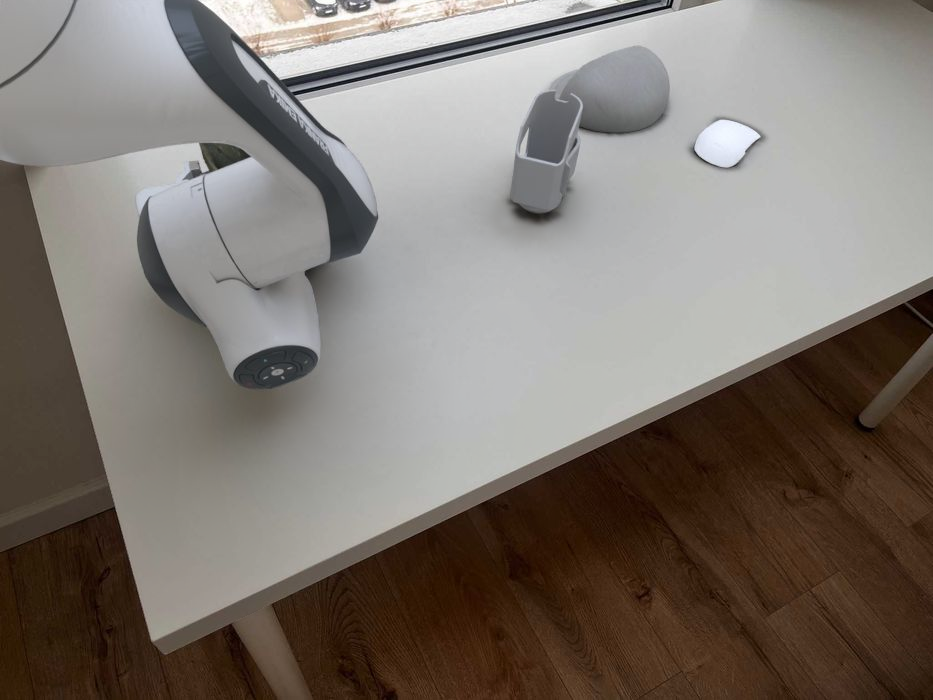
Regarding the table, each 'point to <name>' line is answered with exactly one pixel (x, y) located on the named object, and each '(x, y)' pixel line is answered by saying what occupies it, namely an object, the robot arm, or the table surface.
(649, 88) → the gray cap
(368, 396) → the table surface
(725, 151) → the white curved shell
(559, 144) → the cable organizer
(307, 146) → the robot arm
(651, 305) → the table surface
